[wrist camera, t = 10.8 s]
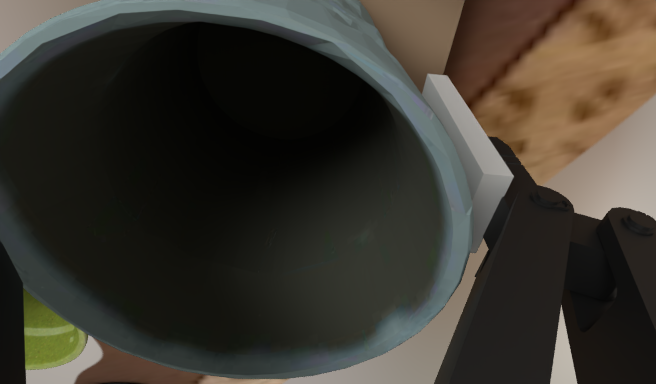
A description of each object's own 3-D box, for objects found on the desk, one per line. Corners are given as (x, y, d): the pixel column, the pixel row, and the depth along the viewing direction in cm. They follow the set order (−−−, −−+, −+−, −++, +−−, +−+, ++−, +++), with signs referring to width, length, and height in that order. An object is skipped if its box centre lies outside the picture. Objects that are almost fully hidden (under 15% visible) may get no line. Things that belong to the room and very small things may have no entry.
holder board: (400, 191, 24) (409, 230, 21) (173, 173, 23) (152, 211, 20) (493, -147, 14) (534, -157, 11) (104, -201, 13) (45, -226, 10)
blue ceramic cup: (339, 180, 21) (350, 404, 12) (154, 119, 19) (-14, 341, 10) (436, -3, 16) (605, 153, 6) (189, -125, 13) (-149, -168, 4)
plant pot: (-19, 211, 25) (-149, 331, 18) (8, 106, 20) (-153, 213, 14) (122, 268, 28) (58, 386, 22) (173, 189, 24) (111, 308, 17)
